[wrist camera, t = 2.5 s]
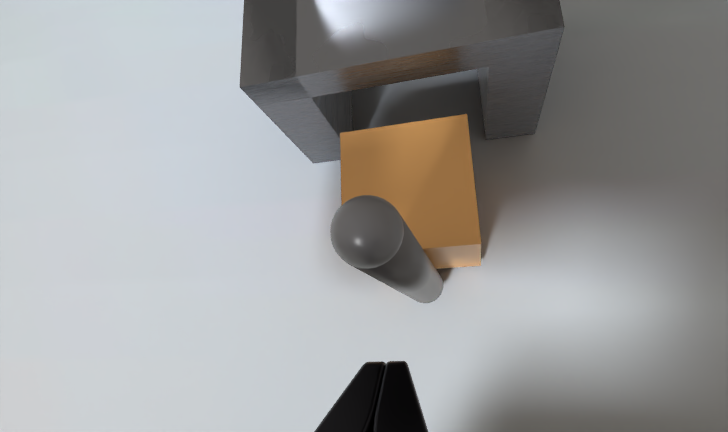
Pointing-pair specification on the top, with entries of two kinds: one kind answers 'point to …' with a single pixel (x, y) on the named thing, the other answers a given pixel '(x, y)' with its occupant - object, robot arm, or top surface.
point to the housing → (393, 59)
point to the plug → (408, 204)
